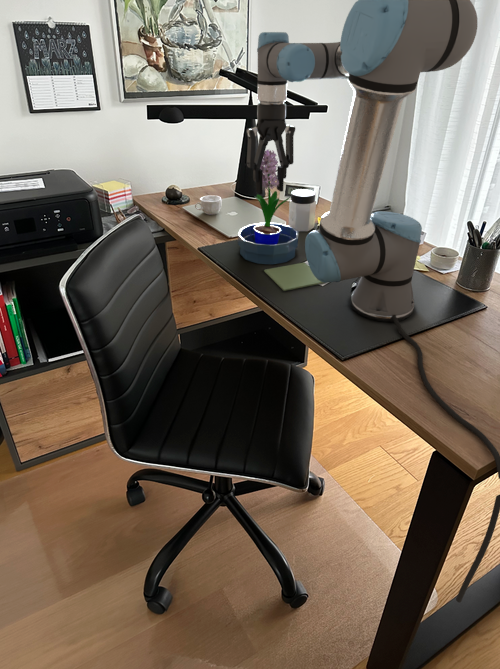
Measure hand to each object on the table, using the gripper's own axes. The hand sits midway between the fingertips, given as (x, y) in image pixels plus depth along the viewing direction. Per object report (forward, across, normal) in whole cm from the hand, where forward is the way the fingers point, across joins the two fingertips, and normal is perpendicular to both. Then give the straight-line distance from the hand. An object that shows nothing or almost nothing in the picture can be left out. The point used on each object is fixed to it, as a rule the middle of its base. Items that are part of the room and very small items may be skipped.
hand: (269, 191), depth 136 cm
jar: (+19, -19, -15) cm, 31 cm away
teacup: (+19, +6, -41) cm, 46 cm away
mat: (+19, 0, +18) cm, 26 cm away
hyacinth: (+19, 0, 0) cm, 19 cm away
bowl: (+19, 0, 0) cm, 19 cm away
